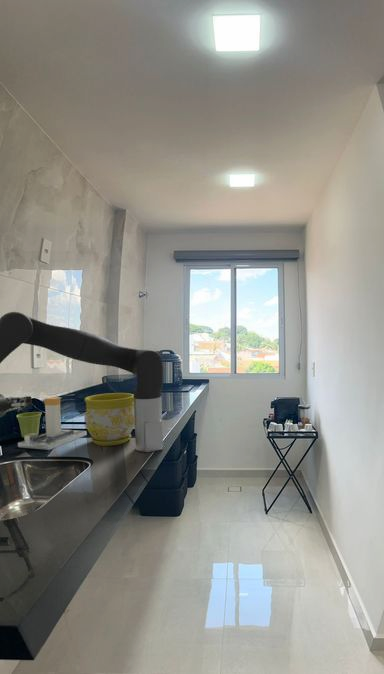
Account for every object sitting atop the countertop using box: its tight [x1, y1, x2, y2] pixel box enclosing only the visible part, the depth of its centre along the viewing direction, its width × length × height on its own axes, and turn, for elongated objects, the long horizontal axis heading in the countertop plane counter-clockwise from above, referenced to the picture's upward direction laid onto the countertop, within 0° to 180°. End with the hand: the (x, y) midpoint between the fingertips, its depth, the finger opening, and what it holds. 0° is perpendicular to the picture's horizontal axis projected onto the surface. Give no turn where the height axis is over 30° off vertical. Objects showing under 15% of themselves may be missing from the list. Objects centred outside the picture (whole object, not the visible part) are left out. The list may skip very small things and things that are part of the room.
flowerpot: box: [84, 392, 135, 447], centre depth 144 cm, size 18×18×16 cm
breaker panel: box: [17, 428, 88, 451], centre depth 148 cm, size 14×21×4 cm, turn 158°
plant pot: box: [16, 411, 43, 439], centre depth 157 cm, size 9×9×9 cm
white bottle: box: [44, 396, 62, 437], centre depth 148 cm, size 5×3×14 cm
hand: (29, 399), depth 137 cm, fingers closed
